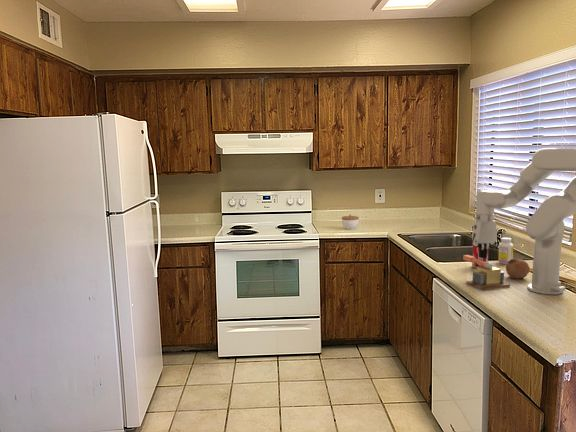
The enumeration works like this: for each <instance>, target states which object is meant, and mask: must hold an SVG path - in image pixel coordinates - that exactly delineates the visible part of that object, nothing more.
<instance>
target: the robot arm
mask: <svg viewBox="0 0 576 432" xmlns="http://www.w3.org/2000/svg"><path fill="white" fill-rule="evenodd" d="M554 172H576V147H571V148H569V147H568V148H567V147H566V148H565V147H564V148H557V147H548V148H547V147H545V148H540V149H538V150H536V151H535V152H534V154H533V155H532V157H531V162H530V163H529V164H527V166H525V167H524V168H523V169H521V170H520V173H519V177H520V178H519V179H518V180H517V181H516V182H515V183H514V184H513V185H512V186H510V187H509V188H508V189H507V190H500V191H499V190H498V191H493V190H490V189H489V190H488V189H487V190H486V189H481V190H478V191H477V192H476V206H475V207H476V208H475V215H474V217H473V218H474V219H475V220H474V222H473V227H472V233H471V240H472V246H473V245H475V246H477V247H478V248H479V257H481V258H487V249H488V250H489V248H490V246H491V245H492V246H493V245H494V244H495V243H496V242H497V236H498V235H497V234H498V233H497V232H498V231H497V230H498V229H497V223H496V222H497V221H496V220H495V209H498V210H499V209H500V210H501V209H506V208H507V209H508V208H512V207H514V206H516V205H518V204H519V203H520V202H522V201H523V200H525V198H527V197H528V196H529V195H530V194H531V193H532V192H533V191H534V190H535V189H536V187H537V186H538V185H539V184H541V183H542V182H543V181H545V180H546V179H547V178H548V177H550V176H551V175H552V174H553V173H554ZM574 215H576V175H575V176H574V177H573V178H572V179H571V180H570V181H569V182H568V184H567V185H566V186H565V187H564V189H562V191H560V192H559V193H556V194H552V195H550V196H548V197H547V198H546V199H544V201H543V202H541V204H540V205H539V207H538V208H537V209H536V210H535V212H534V213H533V214H532V215H531V216H530V218H529V219H528V221H527V222H526V225H525V232H526V234H527V236H528V237H529V238H530V239H532V240H534V247H533V260H532V261H533V262H532V272H531V273H532V274H531V275H532V278H531V283H529V284H528V285H526V286H527V287H526V288H527V289H528V290H529V291H531V292H533V293H537V294H543V295H551V296H552V295H561V294H562V293H564V292H565V290H567V288H566V286H562V283H561V281H560V270H561V269H560V267H561V254H562V246H563V245H562V244H563V239H564V234H565V222H564V220H565V219H566V218H569V217H573V216H574ZM477 242H478V243H477Z"/></svg>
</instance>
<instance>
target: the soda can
mask: <svg viewBox="0 0 576 432" xmlns="http://www.w3.org/2000/svg"><path fill="white" fill-rule="evenodd" d="M477 243H478V242H477ZM471 256H473V257H476V259H478V260H481V261H484V262H487V263H489V262H488V261H489V249H487V258H481V257H479V248H478V247H477V246H475V245H473V244H472V255H471ZM471 266H472V267H473V268H474V269H477V267H480V266H485V265H482V264H479V263H476V262H471Z"/></svg>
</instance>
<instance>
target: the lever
mask: <svg viewBox="0 0 576 432" xmlns="http://www.w3.org/2000/svg"><path fill="white" fill-rule="evenodd" d="M462 259H463V260H464V261H466V262H468V263H472V262H476V263H479V264H482V265H485V267H486V268H493V267H494V263H491V262H488V263H487V262H484V261H481V260H478V259H476V257H473V256H472V255H470V254H463V256H462Z"/></svg>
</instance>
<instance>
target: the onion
mask: <svg viewBox="0 0 576 432" xmlns="http://www.w3.org/2000/svg"><path fill="white" fill-rule="evenodd" d="M505 265H506V266H505V271H506V274H507V275H508V276H509V277H510V278H512V279H515V280H518V279H521V280H522V279H524V278H526V277H527V276H528V275H529V273H530V272H531V271H530V270H531V269H530V268H531V267H530V265H529V263H528V262H527V261H526V260H524V259H520V258H519V259H517V258H513V259H512V260H510V261H509V262H508V263H507V264H505Z"/></svg>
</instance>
